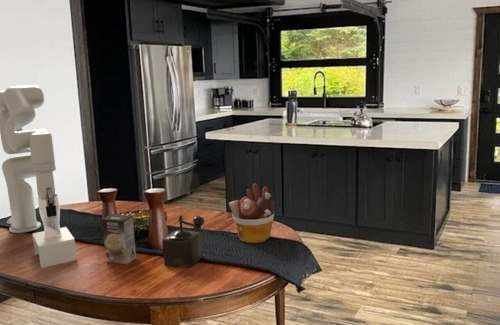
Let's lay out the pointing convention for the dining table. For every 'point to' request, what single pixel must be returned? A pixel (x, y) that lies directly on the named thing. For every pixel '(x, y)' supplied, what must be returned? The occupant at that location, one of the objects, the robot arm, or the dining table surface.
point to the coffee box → (119, 238)
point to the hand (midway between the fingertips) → (49, 212)
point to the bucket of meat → (253, 216)
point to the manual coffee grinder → (183, 245)
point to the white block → (55, 248)
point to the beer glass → (50, 219)
